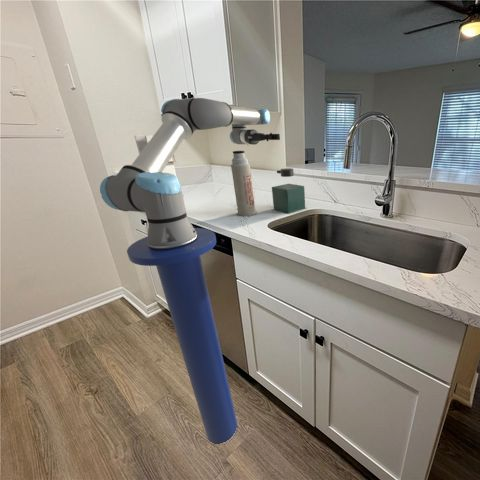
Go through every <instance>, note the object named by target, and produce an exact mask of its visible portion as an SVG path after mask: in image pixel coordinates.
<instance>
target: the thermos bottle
mask: <svg viewBox="0 0 480 480" xmlns="http://www.w3.org/2000/svg"><path fill="white" fill-rule="evenodd" d="M245 152H246V151H244V150H233V151H232V156H233V158H232V159H231V163H232V164H230V168H231V173H232V174H231V176H232V182H233V189H234V194H235V202H236V209H237V215H238V216H241V217H246V216H247V217H248V216H253V215H255V214H256V205H255V204H256V203H255V196H254V187H253V179H252V172H251V164H250V163H249V160H248V158H247V157H246V154H245Z"/></svg>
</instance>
